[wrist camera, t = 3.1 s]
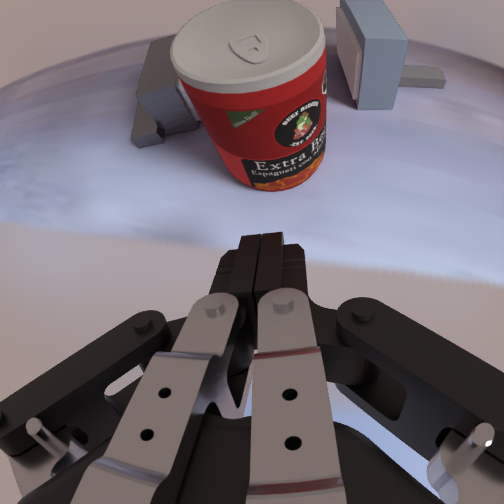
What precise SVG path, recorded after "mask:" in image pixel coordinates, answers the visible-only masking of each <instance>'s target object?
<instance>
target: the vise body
mask: <svg viewBox="0 0 504 504" xmlns="http://www.w3.org/2000/svg"><path fill="white" fill-rule="evenodd" d="M175 36H176V34H175V35H172V36H168V37H165V38H162V39H159V40H155V41H152V42H151V43H150V46H149V50H148V53H147V56H146V60H145V63H144V67H143V71H142V74H141V78H140V82H139V86H138V90H137V94H136V97H137V98H138V100H139V102H138V106H137V111H136V115H135V120H134V125H133V130H132V135H131V139H132V141H133V142H134V143H135V144H136V145H137V146H138V147H139V148H143V147H147V146H152V145H156V144H160V143H164V140H165V136H168V135H172V134H177V133H181V132H186V131H191V130H196V129H198V124H199V121H200V117H199V115H198V113H197V111H196V109H195V108H194V106H193V104H192V102H191V100H190V98H189V97H188V95H187V93H186V91H185V89H184V87H183V85H182V83H181V81H180V79H179V77H178V75H177V73H176V71H175V69H174V67H173V63H172V61H171V57H170V49H171V44H172V42H173V40H174V38H175Z"/></svg>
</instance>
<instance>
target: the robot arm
mask: <svg viewBox="0 0 504 504" xmlns="http://www.w3.org/2000/svg"><path fill="white" fill-rule="evenodd" d="M256 349H258V353H257V354H254V350H256ZM253 355H254V357H253ZM252 360H253V361H252ZM138 364H139V366H140V368H141V369H142V371H143V373H144V374H143V375H142V376H141V377H139V378H138V379H136V380H135V381H134V382H132V383H131V384H129V385H128V386H126V387H125V388H123V389H122V390H121V391H119V392H118V393H116V394H115V395H112V396H107V395H105V394H104V392H105V389H106V388H107V386H108V385H109V384H111V383H112V382H113V381H115V380H117V379H118V378H120V377H121V376H122V375H124V374H125V373H127V372H128V371H130V370H131V369H133V368H134V367H136V366H137V365H138ZM252 375H253V383H252V416H248V417H243V416H244V410H245V406H246V402H247V397H248V393H249V388H250V384H251V379H252ZM326 381H328V382H333V383H335V384H336V387H337V388H338V390H339V391H340V392H341V393H342V394H344V395H345V396H346V397H347V398H348V399H350V400H351V401H352V402H353V403H355V404H356V405H357V406H358V407H360V408H361V409H362V410H363V411H364V412H366V413H367V414H368V415H369V416H371V417H372V418H373V419H375V420H376V421H377V422H378V423H380V424H381V425H382V426H383V427H385V428H386V429H387V430H389V431H390V432H391V433H393V434H394V435H395V436H396V437H398V438H399V439H400V440H401V441H403V442H404V443H405V444H407V445H408V446H409V447H411V448H412V449H413V450H415V451H416V452H417V453H419V454H420V455H421V456H423V457H424V458H425V459H427V460H428V461H429V463H428V466H427V478H428V481H429V483H430V485H431V486H432V487H433V488H434V489H435V490H436V491H437V493H438V494H439V496H440V499H441V500H440V499H439V498H438V497H437V496H435V495H434V494H432V492H430V491H429V490H428V489H427V488H425V487H424V486H423V485H422V484H421V483H419V482H418V481H417V480H416V479H415V478H413V477H412V476H411V475H410V474H409V473H408V472H406V471H405V470H404V469H403V468H402V467H401V466H399V465H398V464H397V463H396V462H395V461H394V460H392V459H391V458H390V457H389V456H388V455H387V454H385V453H384V452H383V451H382V450H381V449H380V448H379V447H378V446H377V445H375V444H374V443H373V442H372V441H371V440H370V439H369V438H367V437H366V436H365V435H363V434H362V433H360V432H359V431H357V430H355V429H353V428H351V427H349V426H347V425H344V424H341V423H337V422H334V421H333V419H332V413H331V406H330V400H329V394H328V388H327V383H326ZM0 449H1V450H3V452H4V453H5V454H6V455H7V456H8V457H9V461H10V464H11V467H12V470H13V473H14V476H15V479H16V481H17V484H18V487H19V490H20V492H21V495H22V497H23V498H22V499H21V500H20V501H19V502H18V503H17V504H504V373H503V372H502V371H500V370H498V369H497V368H495V367H493V366H491V365H490V364H488V363H486V362H485V361H483V360H481V359H479V358H478V357H476V356H474V355H473V354H471V353H469V352H468V351H466V350H464V349H462V348H460V347H459V346H457V345H455V344H454V343H452V342H450V341H449V340H447V339H445V338H443V337H441V336H440V335H438V334H436V333H435V332H433V331H431V330H429V329H427V328H426V327H424V326H422V325H421V324H419V323H417V322H415V321H414V320H412V319H410V318H408V317H406V316H405V315H403V314H401V313H399V312H398V311H396V310H394V309H392V308H390V307H389V306H387V305H385V304H383V303H382V302H380V301H378V300H375V299H372V298H367V297H359V298H353V299H350V300H347V301H345V302H344V303H342V304H341V305H340V307H339V308H338V310H334V309H328V308H324V307H321V306H319V305H317V304H315V303H314V302H313V301H311V299H310V298H309V296H308V290H307V277H306V265H305V254H304V250H303V249H302V247H301V246H300V245H299V244H288V245H284V238H283V232H276V233H265V234H256V235H246V236H241V240H240V243H239V247H238V249H236V250H229V251H228V252H227V253H226V254H224V255H223V256H222V257H221V259H220V262H219V265H218V268H217V271H216V275H215V277H214V280H213V283H212V286H211V289H210V292H209V295H207V296H204V297H202V298H201V299H199V300H198V301H197V302H196V303H195V304H194V305H193V307H192V309H191V311H190V313H189V315H188V316H187V317H184V318H180V319H177V320H173V321H169V322H166V319H165V317H164V315H163V314H162V313H160V312H158V311H154V310H148V311H143V312H140V313H137V314H135V315H134V316H132V317H130V318H129V319H127V320H126V321H124V322H123V323H121V324H119V325H118V326H116V327H115V328H113V329H112V330H110V331H108V332H107V333H105V334H104V335H102V336H101V337H100V338H98V339H96V340H95V341H93V342H91V343H90V344H88V345H87V346H85V347H84V348H82V349H81V350H79V351H78V352H76V353H75V354H73V355H71V356H70V357H68V358H67V359H65V360H64V361H62V362H61V363H59V364H57V365H56V366H54V367H53V368H51V369H50V370H49V371H47V372H45V373H44V374H42V375H41V376H39V377H38V378H36V379H35V380H33V381H31V382H30V383H28V384H27V385H25V386H24V387H22V388H21V389H19V390H18V391H16V392H15V393H13V394H12V395H10V396H9V397H7V398H6V399H5V400H3V401H1V402H0Z"/></svg>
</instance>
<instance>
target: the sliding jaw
mask: <svg viewBox="0 0 504 504" xmlns="http://www.w3.org/2000/svg"><path fill="white" fill-rule="evenodd" d="M336 32H337V53H338V56H339V59H340V62H341V64H342V67H343V70H344V73H345V76H346V79H347V82H348V85H349V88H350V92H351V95H352V98H353V100H354V99H355V103H356V106H357V109H358V110H374V109H393V106H394V102H395V98H396V94H397V90H398V86H404V87H428V88H444V85H445V83H446V78H445V76H444V74H443V73H442V71H441V69H440V68H436V67H424V66H407V65H404V60H405V56H406V51H407V47H408V42H409V40H408V38H407V36H406V35H405V33H404V32H403V30H402V28H401V27H400V25H399V24H398V22H397V21H396V19H395V18H394V16H393V15H392V13H391V12H390V11H389V9H388V8H387V6H386V5H385V3H384V2H383V1H382V0H340V7H336Z"/></svg>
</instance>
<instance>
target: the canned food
mask: <svg viewBox="0 0 504 504" xmlns="http://www.w3.org/2000/svg"><path fill="white" fill-rule="evenodd" d="M170 57H171V61H172V63H173V67H174V69H175V71H176V73H177V75H178V77H179V79H180V81H181V83H182V85H183V87H184V89H185V91H186V93H187V95H188V97H189V98H190V100H191V102H192V104H193V106H194V108H195V109H196V111H197V113H198V115H199V117H200V119H201V121H202V122H203V124H204V126H205V128H206V130H207V132H208V134H209V135H210V137H211V139H212V141H213V143H214V145H215V147H216V149H217V150H218V152H219V154H220V156H221V158H222V160H223V162H224V164H225V165H226V167H227V169H228V170H229V171H230V172H231V174H232V175H233V176H234V177H236V178H237V179H238V180H239V181H241V182H242V183H244V184H246V185H248V186H250V187H252V188H255V189H258V190H262V191H270V192H275V191H284V190H288V189H291V188H294V187H296V186H298V185H300V184H302V183H303V182H305V181H306V180H307V179H309V178H310V177H311V175H312V174H313V173H314V172H315V171H316V169H317V168H318V166H319V165H320V163H321V161H322V159H323V156H324V153H325V144H326V93H327V76H326V43H325V34H324V28H323V25H322V23H321V20H320V19H319V18H318V16H317V15H316V14H315V13H314V12H313V11H311V10H310V9H309V8H307V7H306V6H303V5H302V4H299V3H297V2H294V1H291V0H231V1H227V2H224V3H221V4H218V5H215V6H213V7H211V8H209V9H207V10H205V11H203V12H201V13H199V14H198V15H196V16H195V17H193V18H192V19H191V20H189V21H188V22H187V23H186V24H185V25H184V26H183V27H182V28H181V29H180V31H179V32H178V33H177V34H176V36H175V38H174V40H173V42H172V44H171V49H170Z"/></svg>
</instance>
